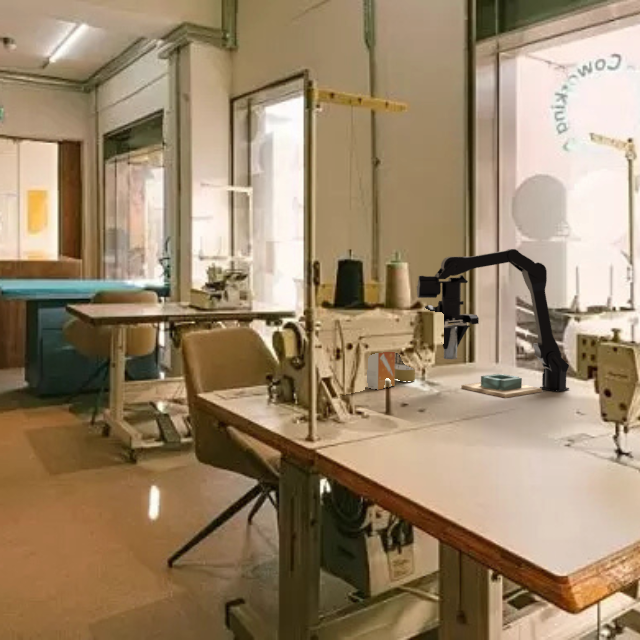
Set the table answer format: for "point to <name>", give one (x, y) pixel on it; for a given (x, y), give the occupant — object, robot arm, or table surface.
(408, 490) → the table surface
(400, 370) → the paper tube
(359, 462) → the table surface
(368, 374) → the small box
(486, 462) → the table surface
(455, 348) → the steel pin
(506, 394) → the socket board
